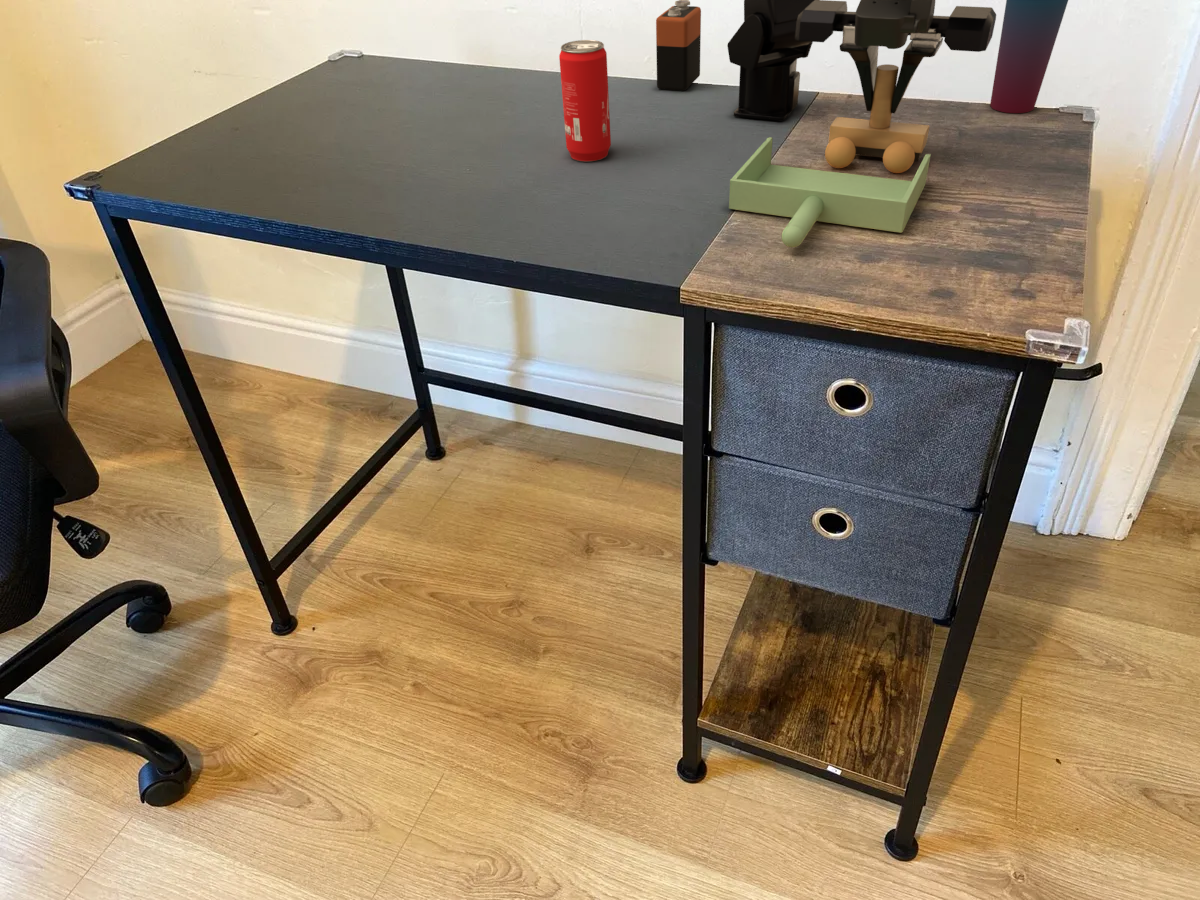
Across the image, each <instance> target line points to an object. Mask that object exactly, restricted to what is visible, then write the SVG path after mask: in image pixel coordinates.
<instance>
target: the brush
mask: <svg viewBox="0 0 1200 900" xmlns="http://www.w3.org/2000/svg"><path fill="white" fill-rule="evenodd" d="M899 71H900V69H899V66H898V65H895V64H880V65H877V70H876V77H875V84H874V92H873V100H872V107H871V111H870V113H869V114H870V115H869V119H863V118H853V117H842V116H836V118H835V119H834V120H833V121H832V123H831V124H830V126H829V133H828V144H829V143H830V142H831V141H832V140H833V139H835V138H838V137H846V138H848V139H850V140H851V141H852V142H853V144H854V145H855V149H856V153H855V156H862V157H863V156H864V157H872V158H882V159H883V154H884V152H885V150H886V148H887V147H888V146H889V145H891V144H892V143H894V142H898V141H903V142H906V143H908V144H910V145H911V146H912V148H913V150H914V153H915V158H914V162H919V161H920V159H921V157H922V155H923V153H924V149H925V148H926V145H927V143H928V137H929V131H930V125H929V124H920V123H919V124H918V123H908V122H897V121H894V122H893V121H892V115H893V113H891V107H892V100H893V96H894V92H895V88H896V85H897V81H898V77H899Z"/></svg>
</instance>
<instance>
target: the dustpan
mask: <svg viewBox="0 0 1200 900" xmlns="http://www.w3.org/2000/svg"><path fill="white" fill-rule="evenodd" d="M773 139H774V138H773V137H770V136H768V137H767V138H766V139H765V140H764V141H763V143H762V144H761V145H760V146H759V147H758V148H757V149H756V150H755V152H753V154H752V155H751V156H750V157H749V158H748V159H747V160H746V162H745V163H744V164H743V165H742V166H741V167H740V168H739V170H738V171H737V172H736V173H735V174H734V175H733V176H732V178H730V180H729V197H728V209H729V210H736V211H743V212H748V213H749V212H750V213H757V214H763V215H770V216H771V215H772V216H778V217H784V218H785V217H786V218H791V219H790V220H789V222H788V223H787V224H786V226H785V228H784V229H783V230H782V233H781V241H782V243H783V245H784V246H786V247H788V248H790V249H791V248H797V247H799V246H800V245H802V243H803V241H805V238H806V237H807V236H808V234H809V233H810V231H811V230H812V228H813V226H814V225H815V223H816V222H821V223H829V224H835V225H842V226H849V227H857V228H863V229H871V230H872V229H874V230H877V231H878V230H879V231H885V232H894V233H898V234H899V233H900V234H902V233H903V232H904V230H905V228H906V226H907V224H908V222H909V220H910V217H911V215H912V214H913V211H914V209H915V207H916V206H917V203H918V201H919V200H920V197H921V195H922V192H923V190H924V188H925V186H926V183H927V179H928V172H929V165H930V162H931V153H925V155H924V156H923V159H922V161H921V163H920V165H919V167H918V168H917V171H916V172H915V173H914V174H915V175H914V176H913V178H912V180H904V179H897V178H888V177H879V176H873V175H872V176H871V175H863V174H856V173H855V174H853V173H846V172H837V171H829V170H821V169H820V170H819V169H812V168H803V167H795V166H787V165H779V164H772V154H773Z"/></svg>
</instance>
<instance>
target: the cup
mask: <svg viewBox="0 0 1200 900" xmlns="http://www.w3.org/2000/svg"><path fill="white" fill-rule="evenodd" d="M1068 3H1069V0H1005V8H1004V13H1003V21H1002V27H1001V33H1000V39H999V45H998V51H997V52H998V53H997V59H996V65H995V72H994V77H993V84H992V91H991V96H990V104H989V106H990V108H991V109H992V110H995V111H996V112H997V111H998V112H1001V113H1006V114H1024V113H1025V114H1026V113H1029V112H1031V111H1033V110H1034V109H1035V107H1036V104H1037V100H1038V97H1039V94H1040V91H1041V88H1042V84H1043V82H1044V78H1045V75H1046V73H1047V69H1048V67H1049V62H1050V60H1051V57H1052V53H1053V50H1054V47H1055V44H1056V40H1057V38H1058V34H1059V32H1060V28H1061V24H1062V22H1063V19H1064V15H1065V13H1066V9H1067V6H1068Z"/></svg>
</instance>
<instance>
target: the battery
mask: <svg viewBox="0 0 1200 900" xmlns="http://www.w3.org/2000/svg"><path fill="white" fill-rule="evenodd" d="M701 27H702V9H701V7H700V6H692V5H691V1H690V0H675V1H674V5H672V6H670V7H669V8H668V9H667V10H665V11H664V12H662V13H661V14H660V15H659V16H658V17H656V19H655V36H656V37H655V41H656V43H655V45H656V47H655V48H656V50H655V51H656V87H657V89H659V90H667V91H686V90H687V89H689V88H690V86H691V85H692V84H693V83H694V82H695V81H697V79H699V77H700V75H701V37H702V36H701V32H702V28H701Z"/></svg>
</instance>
